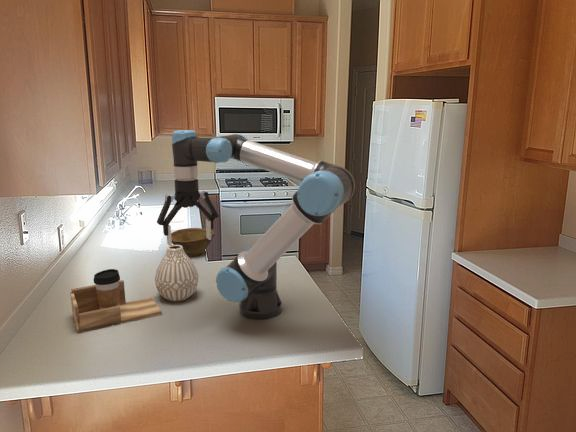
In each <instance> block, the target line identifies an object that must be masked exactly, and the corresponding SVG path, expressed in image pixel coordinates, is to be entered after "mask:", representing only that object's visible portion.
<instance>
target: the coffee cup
mask: <svg viewBox="0 0 576 432" xmlns="http://www.w3.org/2000/svg"><path fill="white" fill-rule="evenodd" d="M120 280H121V276H120V272H119V270H118V269H116V268H115V269H114V268H109V269H105V270H102V271H98V272H96V273H95V274H94V275H93V284H94V285H96V293H97V298H98V302H99V306H100V309H104V308H109V307H114V306H119V301H120V284H119V281H120Z"/></svg>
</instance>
